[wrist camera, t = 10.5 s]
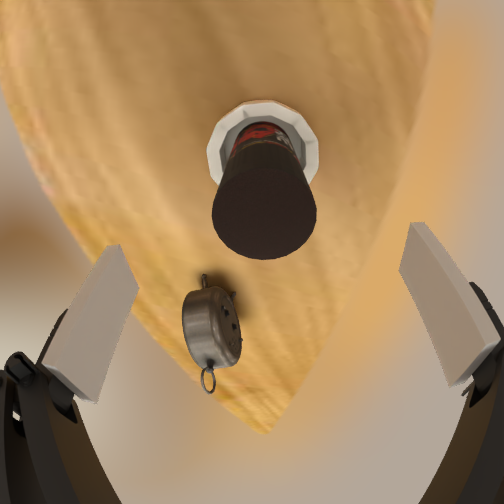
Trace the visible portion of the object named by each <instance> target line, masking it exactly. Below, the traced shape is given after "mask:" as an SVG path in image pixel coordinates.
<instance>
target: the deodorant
mask: <svg viewBox="0 0 504 504" xmlns="http://www.w3.org/2000/svg"><path fill="white" fill-rule="evenodd" d="M316 212H317V208H316V205H315V201H314V198H313V195H312V192H311V190H310V187H309V184H308V182H307V179H306V177H305V174H304V172H303V169H302V167H301V165H300V162H299V160H298V157H297V155H296V153H295V150H294V148H293V146H292V143H291V141H290V139H289V136H288V135H287V133H286V132H285V131H284V130H283V129H282V128H281V127H280V126H279V125H276V124H274V123H272V122H267V121H258V122H254V123H251V124H249V125H247V126H246V127H244V128H243V129H242V130H241V131H240V132H239V134H238V136H237V138H236V140H235V143H234V145H233V148H232V151H231V153H230V156H229V159H228V162H227V165H226V167H225V170H224V173H223V176H222V179H221V182H220V184H219V187H218V190H217V193H216V196H215V199H214V202H213V208H212V220H213V225H214V229H215V230H216V232H217V234H218V236H219V238H220V239H221V240H222V241H223V242H224V244H225V245H226V246H227V247H228V248H230V249H231V250H233V251H234V252H236V253H237V254H240V255H243V256H245V257H248V258H252V259H259V260H268V259H276V258H280V257H283V256H287V255H288V254H290V253H292V252H294V251H296V250H297V249H298V248H300V247H301V246H302V245H303V244H304V243H305V242H306V241H307V240H308V238H309V237H310V235H311V234H312V232H313V229H314V226H315V223H316Z"/></svg>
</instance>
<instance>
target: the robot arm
mask: <svg viewBox="0 0 504 504" xmlns="http://www.w3.org/2000/svg"><path fill="white" fill-rule="evenodd" d="M399 272H400V274H401V276H402V278H403V280H404V282H405V284H406V285H407V288H408V290H409V292H410V294H411V296H412V298H413V300H414V302H415V304H416V306H417V308H418V310H419V313H420V315H421V317H422V319H423V322H424V324H425V326H426V328H427V331H428V333H429V335H430V338H431V340H432V343H433V345H434V348H435V350H436V353H437V355H438V358H439V360H440V363H441V366H442V369H443V371H444V374H445V377H446V379H447V383H448V386H449V388H451V387H454V386H457V385H460V384H462V383H465V382H466V380H467V379H468V378H469V377H470V376H471V375H472V376H473V379H474V381H473V382H472V383H471V384H470V385H469V386H468V387H467V388H466V389H465V390H464V391H463V393H462V396H464V395H465V394H466V393H467V392H468V391H469V393H468V396H467V399H466V402H465V405H464V408H463V412H462V414H461V417H460V420H459V422H458V425H457V428H456V430H455V433H454V435H453V438H452V440H451V442H450V445H449V447H448V450H447V451H446V454H445V456H444V458H443V460H442V462H441V464H440V466H439V468H438V470H437V472H436V474H435V476H434V478H433V480H432V482H431V484H430V485H429V487H428V489H427V490H426V492H425V494H424V495H423V497H422V499H421V501H420V502H419V504H504V327H503V325H502V323H501V321H500V319H499V318H498V316H497V314H496V312H495V311H494V310H493V309H492V308H493V307H492V306H491V304H490V302H488V299H487V297H486V296H485V294H484V293H483V291H482V290H481V289H480V288H479V287H478V286H477V285H476V284H475V283H474V282H469V283H468V281H467V280H466V278H465V277H464V275H463V274H462V273H461V271H460V269H459V268H458V267H457V265H456V263H455V262H454V261H453V259H452V258H451V256H450V255H449V254H448V252H447V251H446V250H445V248H444V247H443V246H442V244H441V243H440V242H439V240H438V239H437V238H436V236H435V235H434V234H433V233H432V231H431V230H430V229H429V228H428V226H427V225H426V224H425V223H424V222H414V223H410V227H409V231H408V236H407V240H406V244H405V248H404V252H403V256H402V260H401V264H400V268H399ZM138 290H139V286H138V284H137V282H136V280H135V278H134V275H133V273H132V271H131V269H130V267H129V264H128V262H127V260H126V258H125V255H124V253H123V251H122V248H121V246H120V245H112V246H107V247H106V248H105V250H104V251H103V253H102V254H101V256H100V257H99V259H98V260H97V262H96V264H95V265H94V267H93V268H92V270H91V271H90V273H89V275H88V276H87V278H86V280H85V281H84V283H83V284H82V286H81V288H80V290H79V291H78V293H77V295H76V297H75V298H74V300H73V302H72V304H71V305H70V307H69V309H66V310H65V311H64V312H63V313H62V314H61V316H60V317H59V318H58V320H57V322H56V324H55V325H54V329H53V330H52V331H51V333H50V337H48V339H47V341H46V343H45V345H44V347H43V349H42V352H41V354H40V356H39V358H38V360H37V362H36V364H34V363H33V362H32V361H31V360H30V359H29V358H28V357H27V356H26V355H25V354H24V353H23V352H16V353H14V354H12V355H11V356H10V357H9V358H8V360H7V361H6V364H5V366H4V370H0V504H122V503H121V501H120V500H119V498H118V496H117V494H116V493H115V491H114V489H113V487H112V485H111V483H110V482H109V480H108V478H107V476H106V474H105V472H104V470H103V468H102V466H101V464H100V462H99V459H98V457H97V455H96V453H95V450H94V448H93V446H92V443H91V441H90V439H89V436H88V434H87V431H86V429H85V426H84V423H83V420H82V418H81V415H80V412H79V409H78V406H77V404H76V402H75V400H73V397H74V394H75V395H77V396H78V397H79V398H80V399H81V400H83V401H86V402H90V403H94V404H97V402H98V399H99V395H100V392H101V389H102V386H103V382H104V380H105V376H106V374H107V371H108V368H109V365H110V362H111V359H112V356H113V354H114V351H115V348H116V345H117V343H118V340H119V337H120V335H121V332H122V329H123V327H124V324H125V322H126V319H127V317H128V314H129V312H130V309H131V307H132V304H133V302H134V300H135V297H136V295H137V293H138ZM13 411H14V412H15V413H17V414H18V415H19V416H20V420H19V421H18V420H16V419H15V418H13Z"/></svg>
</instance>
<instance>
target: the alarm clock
mask: <svg viewBox="0 0 504 504" xmlns="http://www.w3.org/2000/svg"><path fill="white" fill-rule="evenodd" d="M202 278H203V280H202V285H203V289H200V290H196V291H191V292H189V293H188V294H187V296H186V297H185V300H184V303H183V307H182V326H183V332H184V338H185V341H186V344H187V347H188V350H189V352H190V355H191V356H192V358H193V360H194V361H195V362H196V364H197V365H198V366H199V367H201V368H202V369H203V370H202V373H201V385H202V388H203V390H204V391H205V392H206V393H207V394H212V393H213V392H214V390H215V386H216V380H215V376H214V373H213V371H214V369H217V368H225V367H231V366H233V365H235V364H236V363H237V362H238V360H239V358H240V355H241V349H242V341H243V339H242V338H241V330H240V325H239V320H238V316H237V313H236V310H235V307H234V304H233V299H234V297H235V296H236V292H234V293H233V294H232V296H231V297H229V295H228V294H227V293H226V291H225V290H223V289H222V288H220V287H217V286H213V287H209V288H208V284H207V281H206V275H205V274H203V275H202ZM205 370H206V372H207V373H211V374H212V377H213V389H212V390H211V391H210V392H209V391H207V390H206V388H205V385H204V379H203V376H204V372H205Z"/></svg>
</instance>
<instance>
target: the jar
mask: <svg viewBox="0 0 504 504" xmlns="http://www.w3.org/2000/svg"><path fill="white" fill-rule="evenodd" d="M258 121H267V122H272V123H274V124H276V125H279V126H280V127H281V128H282V129H283V130H284V131H285V132H286V133H287V135H288V136H289V139H290V141H291V143H292V146H293V148H294V150H295V153H296V155H297V157H298V160H299V162H300V165H301V167H302V169H303V172H304V174H305V177H306V179H307V182H308V184H310V182H311V180H312V179H313V177H314V175H315V174H316V172H317V170H318V167H319V154H318V139H317V138H316V136H315V135H314V133H313V131H312V130H311V128H310V127H309V125H308V124H307V122H306V121H305V120H304V118H303V117H302V115H301V114H299V113H298V112H297V111H296V110H294V109H292V108H290V107H288V106H286V105H284V104H282V103H279V102H277V101H274V100H271V99H270V100H254V101H248V102H243V103H242V104H240V105H239V106H237V107H236V108H234V109H233V110H231V111H230V112H229V113H227V114H226V115H225V116H223V117H222V118H221V119H220V120H219V121H218V122H217V124H216V126H215V129H214V131H213V134H212V136H211V138H210V141H209V143H208V146H207V148H206V152H207V158H208V164H209V169H210V175H211V177H212V179H213V180H214V181H215V182H216V183H217V184H218V186H219V184H220V182H221V179H222V176H223V173H224V170H225V167H226V165H227V162H228V159H229V156H230V153H231V151H232V148H233V145H234V143H235V140H236V138H237V136H238V134H239V132H240V131H241V130H242V129H243V128H244V127H246V126H247V125H249V124H251V123H254V122H258Z"/></svg>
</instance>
